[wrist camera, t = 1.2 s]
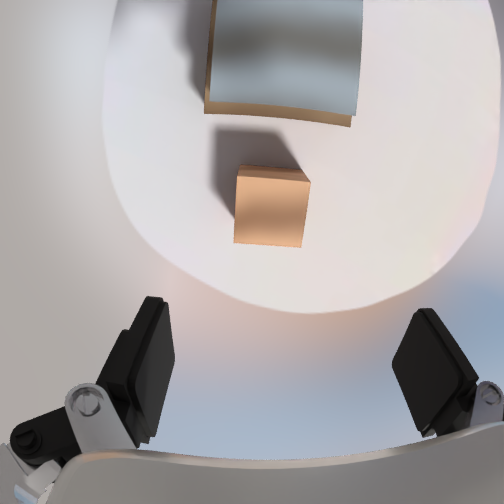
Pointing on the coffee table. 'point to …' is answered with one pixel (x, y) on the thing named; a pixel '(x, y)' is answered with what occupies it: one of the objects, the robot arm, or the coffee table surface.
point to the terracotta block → (270, 206)
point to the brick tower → (285, 59)
